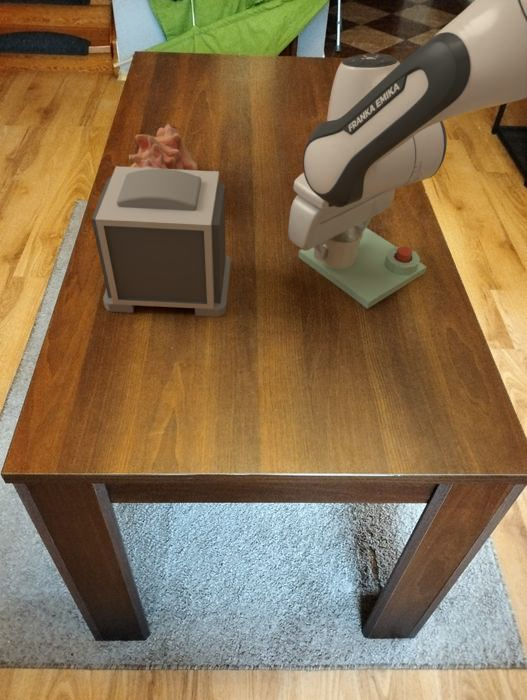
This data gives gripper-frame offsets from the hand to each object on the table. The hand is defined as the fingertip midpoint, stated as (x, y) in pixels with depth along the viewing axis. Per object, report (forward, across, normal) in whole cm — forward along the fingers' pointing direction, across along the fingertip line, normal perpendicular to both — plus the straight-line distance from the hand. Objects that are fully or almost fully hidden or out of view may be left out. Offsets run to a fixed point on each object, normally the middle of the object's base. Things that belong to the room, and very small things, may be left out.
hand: (337, 248), depth 93 cm
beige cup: (+2, 0, 0) cm, 2 cm away
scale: (+3, -3, +3) cm, 5 cm away
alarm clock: (+3, +25, -12) cm, 28 cm away
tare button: (0, -7, +8) cm, 11 cm away
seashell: (+3, +12, -34) cm, 36 cm away
